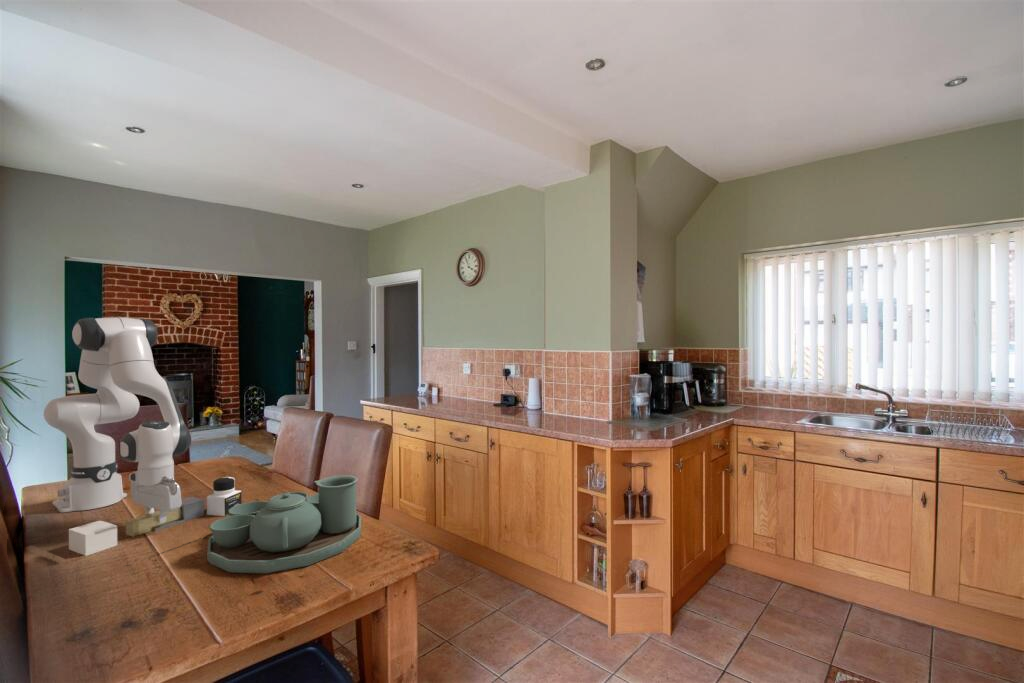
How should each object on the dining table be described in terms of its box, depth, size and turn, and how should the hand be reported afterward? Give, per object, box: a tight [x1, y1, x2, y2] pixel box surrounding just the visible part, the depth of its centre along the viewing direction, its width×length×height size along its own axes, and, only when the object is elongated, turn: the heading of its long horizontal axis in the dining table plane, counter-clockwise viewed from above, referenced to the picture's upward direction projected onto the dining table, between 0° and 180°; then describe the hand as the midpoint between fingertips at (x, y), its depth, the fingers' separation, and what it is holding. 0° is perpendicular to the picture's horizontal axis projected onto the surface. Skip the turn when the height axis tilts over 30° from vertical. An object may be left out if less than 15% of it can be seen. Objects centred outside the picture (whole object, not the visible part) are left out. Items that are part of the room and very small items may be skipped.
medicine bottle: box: [206, 476, 242, 517], centre depth 155 cm, size 7×7×12 cm
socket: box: [68, 519, 118, 557], centre depth 129 cm, size 9×7×6 cm
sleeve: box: [153, 496, 205, 532], centre depth 147 cm, size 8×14×6 cm, turn 154°
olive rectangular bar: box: [125, 507, 182, 538], centre depth 144 cm, size 4×16×4 cm, turn 154°
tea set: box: [206, 474, 362, 574], centre depth 135 cm, size 40×40×16 cm
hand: (156, 520), depth 143 cm, fingers closed on olive rectangular bar, 4 cm apart
